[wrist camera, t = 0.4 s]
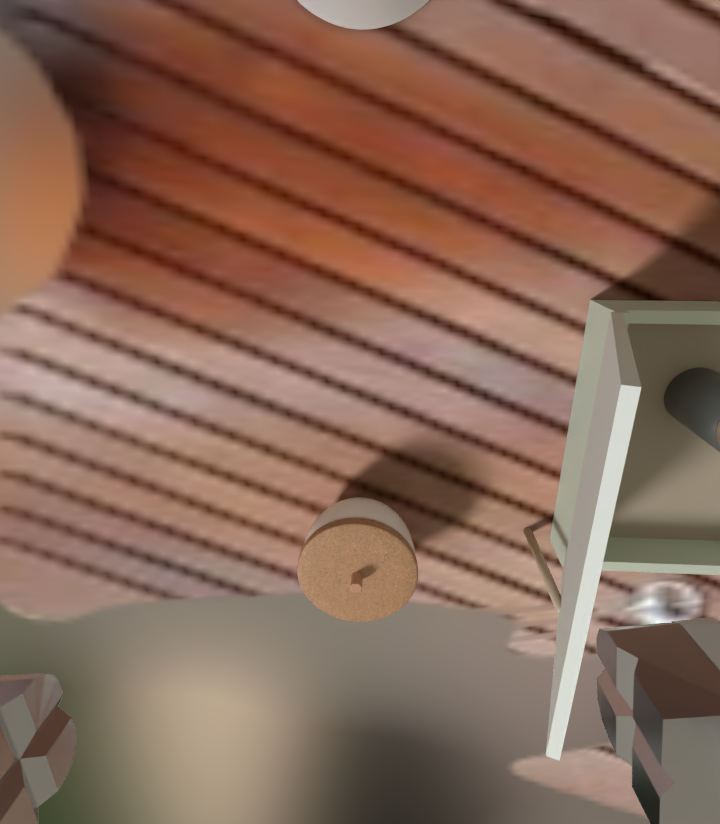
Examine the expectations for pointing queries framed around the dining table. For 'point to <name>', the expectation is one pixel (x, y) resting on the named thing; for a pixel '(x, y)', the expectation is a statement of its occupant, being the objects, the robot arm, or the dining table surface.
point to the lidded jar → (358, 561)
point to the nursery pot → (696, 403)
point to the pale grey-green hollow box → (629, 471)
